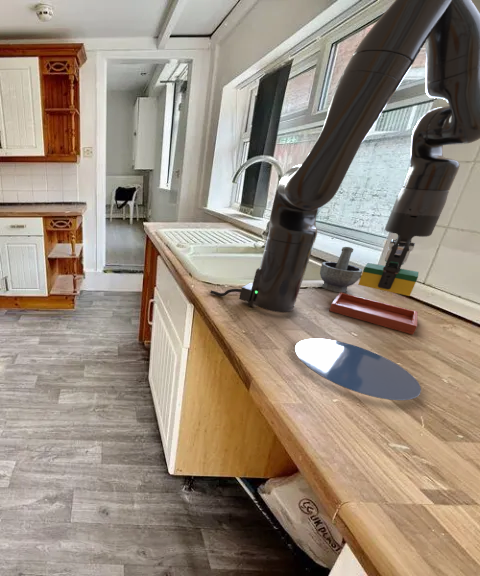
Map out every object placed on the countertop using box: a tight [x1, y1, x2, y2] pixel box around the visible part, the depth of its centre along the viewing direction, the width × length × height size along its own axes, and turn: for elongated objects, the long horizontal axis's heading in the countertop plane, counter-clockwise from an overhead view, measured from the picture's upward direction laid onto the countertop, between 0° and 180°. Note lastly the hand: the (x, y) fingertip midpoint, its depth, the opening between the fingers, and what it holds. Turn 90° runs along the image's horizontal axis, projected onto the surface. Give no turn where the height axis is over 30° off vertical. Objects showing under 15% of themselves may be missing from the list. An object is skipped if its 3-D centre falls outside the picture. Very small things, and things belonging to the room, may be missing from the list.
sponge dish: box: [328, 292, 419, 335], centre depth 74 cm, size 15×11×2 cm
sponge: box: [357, 262, 419, 297], centre depth 71 cm, size 9×6×4 cm, turn 44°
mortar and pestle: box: [319, 246, 363, 293], centre depth 90 cm, size 11×9×12 cm
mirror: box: [294, 338, 422, 401], centre depth 53 cm, size 17×17×1 cm
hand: (385, 284), depth 72 cm, fingers closed on sponge, 5 cm apart
